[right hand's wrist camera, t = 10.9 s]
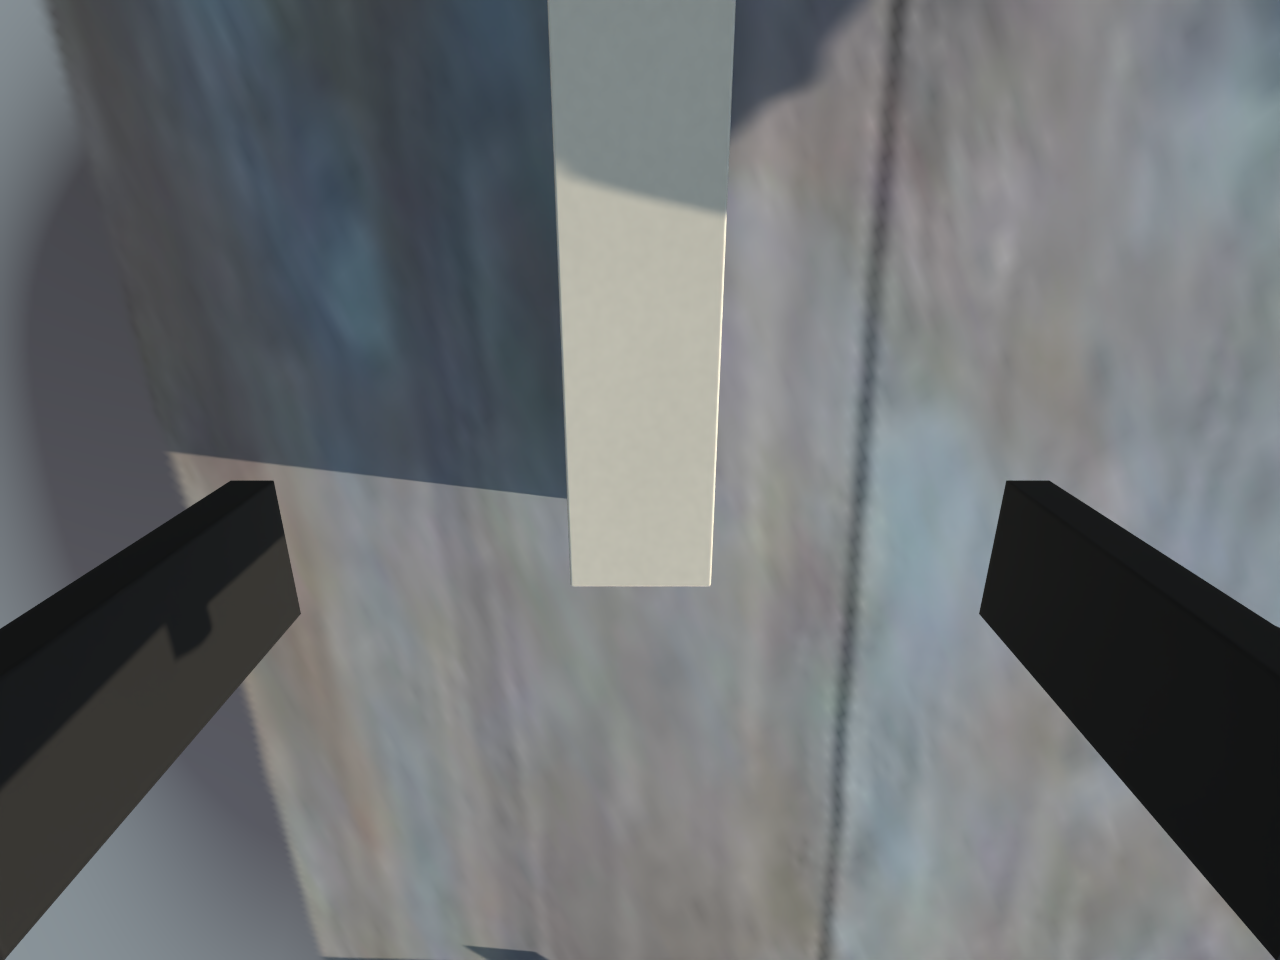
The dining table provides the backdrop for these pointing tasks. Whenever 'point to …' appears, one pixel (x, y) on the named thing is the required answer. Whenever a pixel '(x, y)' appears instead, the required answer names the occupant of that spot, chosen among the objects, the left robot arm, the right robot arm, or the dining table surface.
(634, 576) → the beam
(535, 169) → the dining table surface
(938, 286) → the dining table surface
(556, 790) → the dining table surface
